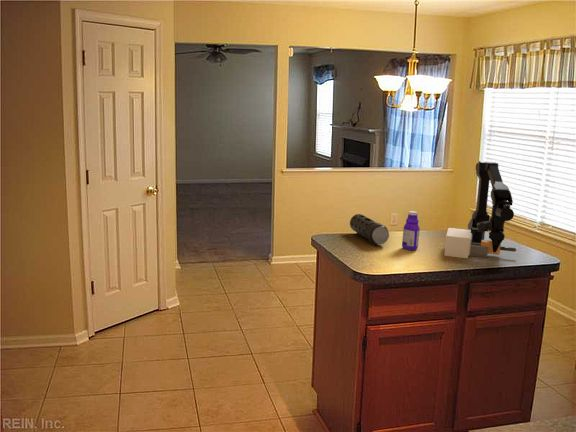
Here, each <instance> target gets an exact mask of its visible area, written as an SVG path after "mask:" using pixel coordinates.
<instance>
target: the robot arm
mask: <svg viewBox="0 0 576 432" xmlns="http://www.w3.org/2000/svg"><path fill="white" fill-rule="evenodd" d="M500 172H501V171H500V168H499V162H497V161H491V160H490V161H489V160H488V161H486V160H479V161H478V162H477V163H476V164H475V174H476V176H477V178H478V188H477V198H476V209H475V210H474V211H473V212H472V215H471V218H470V220H469V221H468V224H467V230H471V233H472V235H473V237H472V242H473V243H481V241H482V240H485V234H486V232H487V233H488V239H489V240H490V241H492V246H493V252H496V251H497V249H498V247H499V246H500V244H502V242H503V241H504V240H505V236H506V235H505V233H504V231H505V222H509V221H512V219H513V218H514V216H515V213H514V210H513V209H512V208H511V206H513V202H514V200H513V196H512V192H511V191H510V189H509V187H508V185H506V184H505V183H504V182H503V179H502V175H501V173H500ZM490 184H491V188H492V189H491V191H490V198H491V205H492V206H491V214H489V213H488V211H487V207H488V198H489V188H490Z"/></svg>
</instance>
